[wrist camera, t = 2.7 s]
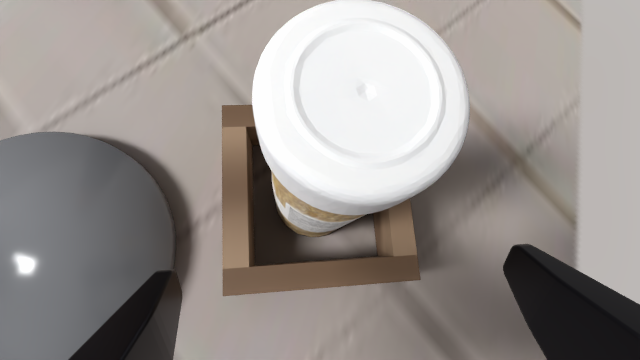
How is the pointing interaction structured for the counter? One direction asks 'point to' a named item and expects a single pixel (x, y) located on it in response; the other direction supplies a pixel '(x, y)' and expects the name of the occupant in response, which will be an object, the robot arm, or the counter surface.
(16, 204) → the slate plate
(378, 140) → the sprinkles bottle
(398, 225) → the walnut socket
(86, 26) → the counter surface
